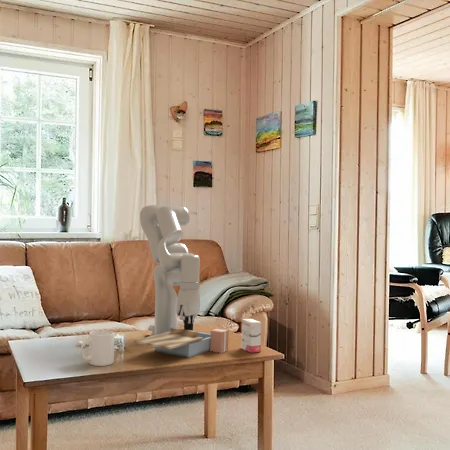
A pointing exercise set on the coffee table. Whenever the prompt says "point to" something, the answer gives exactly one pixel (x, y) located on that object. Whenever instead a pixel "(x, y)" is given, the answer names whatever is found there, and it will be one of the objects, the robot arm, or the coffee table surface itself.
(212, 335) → the parcel
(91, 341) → the mug
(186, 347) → the blue open box
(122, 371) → the coffee table surface
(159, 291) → the robot arm
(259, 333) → the ink box
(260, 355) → the coffee table surface
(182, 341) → the lid
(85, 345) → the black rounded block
